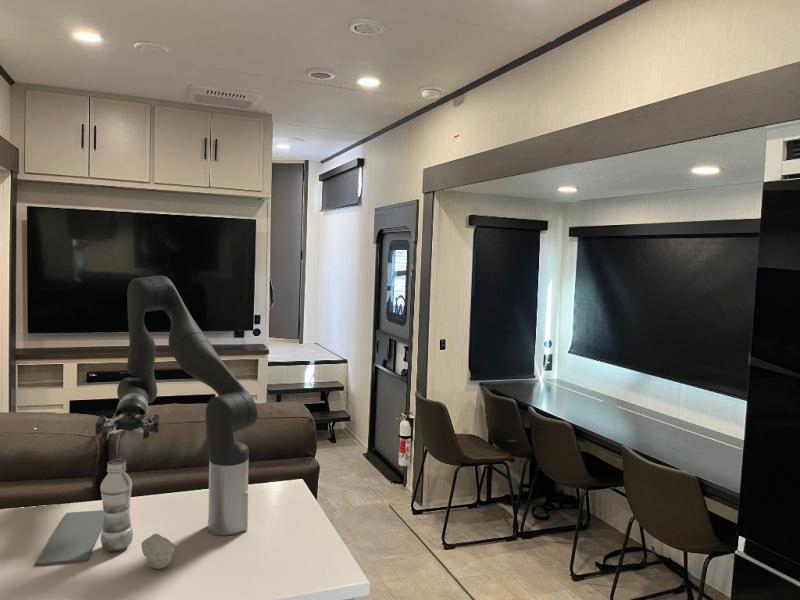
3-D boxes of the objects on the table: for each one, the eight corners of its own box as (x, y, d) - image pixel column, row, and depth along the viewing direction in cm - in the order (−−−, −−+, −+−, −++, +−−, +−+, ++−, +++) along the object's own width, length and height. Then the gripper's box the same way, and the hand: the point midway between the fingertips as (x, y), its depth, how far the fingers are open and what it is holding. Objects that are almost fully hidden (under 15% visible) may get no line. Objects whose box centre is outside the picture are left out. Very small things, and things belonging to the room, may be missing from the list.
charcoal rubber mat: (110, 512, 153) (110, 509, 153) (87, 561, 130) (87, 558, 130) (66, 514, 150) (66, 512, 150) (35, 566, 127) (35, 563, 127)
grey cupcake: (149, 558, 132) (149, 528, 132) (180, 560, 132) (180, 530, 131) (135, 573, 126) (135, 542, 126) (168, 576, 126) (168, 544, 125)
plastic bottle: (139, 544, 138) (139, 460, 136) (114, 558, 132) (114, 470, 130) (119, 537, 141) (119, 454, 139) (93, 550, 134) (93, 464, 132)
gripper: (102, 397, 155) (92, 421, 140) (161, 397, 160) (158, 420, 145) (101, 425, 156) (91, 452, 141) (160, 424, 161) (157, 449, 146)
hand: (125, 436), depth 143 cm, fingers open, 8 cm apart
